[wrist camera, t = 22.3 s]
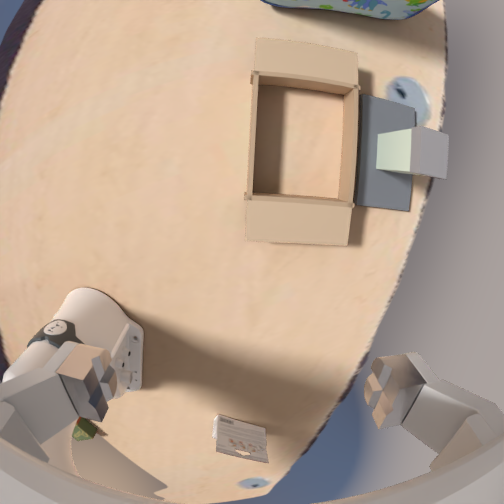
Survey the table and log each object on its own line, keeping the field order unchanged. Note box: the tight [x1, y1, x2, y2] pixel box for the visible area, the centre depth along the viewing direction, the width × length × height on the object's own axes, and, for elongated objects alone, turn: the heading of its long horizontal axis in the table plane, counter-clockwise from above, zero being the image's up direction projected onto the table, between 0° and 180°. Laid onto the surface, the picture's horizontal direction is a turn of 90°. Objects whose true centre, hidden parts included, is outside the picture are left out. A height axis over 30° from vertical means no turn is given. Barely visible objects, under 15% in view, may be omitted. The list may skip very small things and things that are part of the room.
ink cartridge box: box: [212, 414, 269, 463], centre depth 45 cm, size 2×11×10 cm, turn 61°
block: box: [376, 126, 449, 180], centre depth 29 cm, size 5×4×11 cm
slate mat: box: [354, 94, 415, 211], centre depth 35 cm, size 16×9×1 cm, turn 177°
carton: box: [72, 417, 97, 441], centre depth 49 cm, size 8×16×4 cm, turn 30°
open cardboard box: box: [244, 38, 360, 246], centre depth 33 cm, size 26×14×4 cm, turn 177°
